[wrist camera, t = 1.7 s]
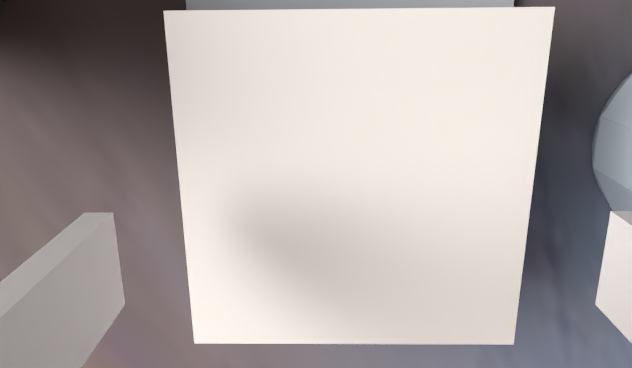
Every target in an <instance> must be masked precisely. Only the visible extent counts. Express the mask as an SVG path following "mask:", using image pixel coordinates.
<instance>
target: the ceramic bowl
mask: <svg viewBox="0 0 632 368" xmlns="http://www.w3.org/2000/svg"><path fill="white" fill-rule="evenodd" d="M591 155H592V167H593V172H594V176H595V179H596V182H597V184H598V187H599V188H600V190H601V192H602V194H603V196H604V197H605V198H606V199H607V201H608V203H609V205H610V207H611V209H612V210H614V211H632V72H631V73H630V74H629V75H628V76H627V77H626V78H625V79H624V80H623V81H622V82H621V83H620V85H619V86H618V87H617V88H616V89H615V91H614V92H613V93H612V95H611V96H610V98H609V99H608V101H607V102H606V104H605V106H604V108H603V110H602V112H601V114H600V116H599V119H598V121H597V124H596V127H595V131H594V135H593V140H592V151H591Z"/></svg>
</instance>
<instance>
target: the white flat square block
mask: <svg viewBox="0 0 632 368" xmlns="http://www.w3.org/2000/svg"><path fill="white" fill-rule="evenodd" d="M554 11H555V7H473V8H371V9H269V10H172V11H163V13H164V24H165V35H166V45H167V56H168V67H169V77H170V88H171V99H172V109H173V120H174V131H175V141H176V152H177V163H178V174H179V184H180V195H181V206H182V216H183V227H184V238H185V248H186V259H187V270H188V280H189V291H190V302H191V312H192V323H193V334H194V343H243V344H510V345H513V344H514V336H515V328H516V320H517V311H518V303H519V295H520V287H521V279H522V271H523V263H524V255H525V247H526V238H527V230H528V222H529V214H530V206H531V198H532V190H533V182H534V174H535V165H536V157H537V149H538V141H539V133H540V125H541V117H542V109H543V101H544V92H545V84H546V76H547V68H548V60H549V52H550V44H551V36H552V28H553V19H554Z"/></svg>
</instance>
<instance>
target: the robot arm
mask: <svg viewBox="0 0 632 368" xmlns="http://www.w3.org/2000/svg"><path fill="white" fill-rule="evenodd" d="M124 305H125V301H124V293H123V285H122V278H121V270H120V262H119V255H118V247H117V239H116V232H115V224H114V216H113V213H84V214H82V215H81V216H80V217H79V218H77V219H76V220H75V221H74V222H73V223H71V224H70V225H69V226H68V227H67V228H65V229H64V230H63V231H62V232H60V233H59V234H58V235H57V236H56V237H54V238H53V239H52V240H51V241H50V242H48V243H47V244H46V245H45V246H43V247H42V248H41V249H40V250H39V251H37V252H36V253H35V254H34V255H33V256H31V257H30V258H29V259H28V260H26V261H25V262H24V263H23V264H22V265H20V266H19V267H18V268H17V269H15V270H14V271H13V272H12V273H11V274H9V275H8V276H7V277H6V278H5V279H3V280H2V281H1V282H0V368H82V366H83V365H84V363H85V362H86V360H87V359H88V357H89V356H90V355H91V353H92V352H93V350H94V349H95V347H96V346H97V344H98V343H99V341H100V340H101V339H102V337H103V336H104V334H105V333H106V331H107V330H108V328H109V327H110V326H111V324H112V323H113V321H114V320H115V318H116V317H117V315H118V314H119V312H120V311H121V310H122V308H123V307H124ZM595 305H596V306H597V307H598V308H599V309H600V310H601V311H602V312H603V313H604V314H605V315H606V316H607V317H608V319H609V320H610V321H611V322H612V323H613V324H614V325H615V326H616V327H617V328H618V329H619V330H620V331H621V332H622V333H623V335H624V336H625V337H626V338H627V339H628V340H629V341H630V342H631V343H632V211H611V212H610V218H609V224H608V230H607V236H606V242H605V249H604V255H603V261H602V267H601V273H600V279H599V285H598V291H597V297H596V303H595Z"/></svg>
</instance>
